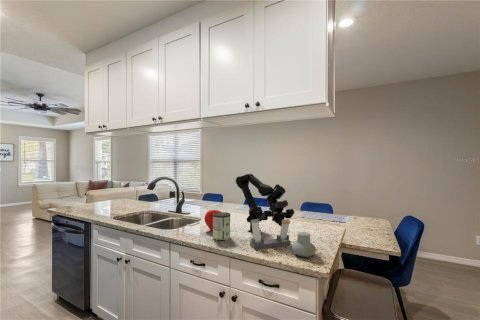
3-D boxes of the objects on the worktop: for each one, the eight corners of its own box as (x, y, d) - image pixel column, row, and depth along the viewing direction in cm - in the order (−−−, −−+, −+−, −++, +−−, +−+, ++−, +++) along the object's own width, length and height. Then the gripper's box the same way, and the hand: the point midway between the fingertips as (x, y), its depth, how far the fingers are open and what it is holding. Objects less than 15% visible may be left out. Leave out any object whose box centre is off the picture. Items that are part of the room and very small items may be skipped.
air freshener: (302, 260, 106) (302, 237, 106) (289, 254, 113) (289, 233, 113) (318, 255, 112) (318, 233, 112) (304, 250, 119) (304, 230, 119)
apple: (201, 231, 151) (201, 210, 152) (209, 227, 162) (209, 207, 163) (218, 233, 148) (218, 211, 148) (225, 228, 159) (225, 208, 159)
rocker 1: (253, 242, 123) (250, 220, 127) (260, 241, 125) (257, 219, 129) (254, 242, 122) (251, 219, 126) (262, 241, 123) (258, 219, 127)
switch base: (249, 245, 125) (249, 236, 125) (284, 241, 132) (284, 233, 132) (254, 249, 119) (254, 240, 120) (290, 244, 127) (290, 236, 127)
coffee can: (216, 234, 144) (216, 211, 145) (232, 236, 141) (232, 212, 142) (209, 239, 134) (209, 214, 135) (226, 241, 132) (227, 216, 132)
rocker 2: (278, 238, 129) (281, 219, 126) (284, 237, 130) (288, 219, 127) (280, 240, 127) (283, 221, 124) (286, 239, 129) (290, 221, 125)
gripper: (263, 196, 130) (273, 220, 120) (292, 194, 137) (304, 217, 126) (257, 208, 137) (266, 232, 127) (285, 206, 144) (296, 229, 133)
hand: (283, 227), depth 128 cm, fingers closed
